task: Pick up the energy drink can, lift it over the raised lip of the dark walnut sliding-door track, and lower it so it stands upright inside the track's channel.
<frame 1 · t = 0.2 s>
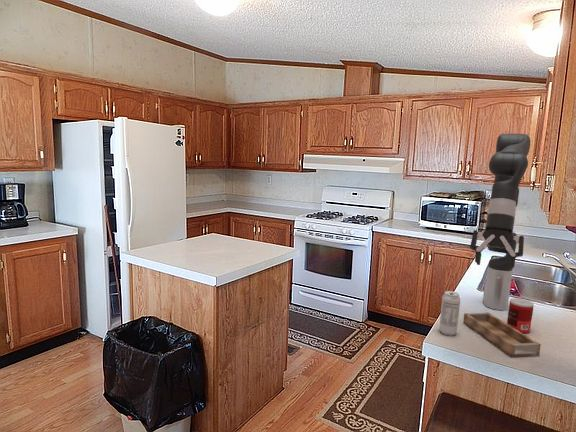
hand: (493, 267, 120), 31 cm above the counter, tool tilted 20°, fingers open, 8 cm apart
energy drink can: (447, 333, 145), on the counter
canned food: (517, 329, 150), on the counter
door track: (498, 338, 142), on the counter
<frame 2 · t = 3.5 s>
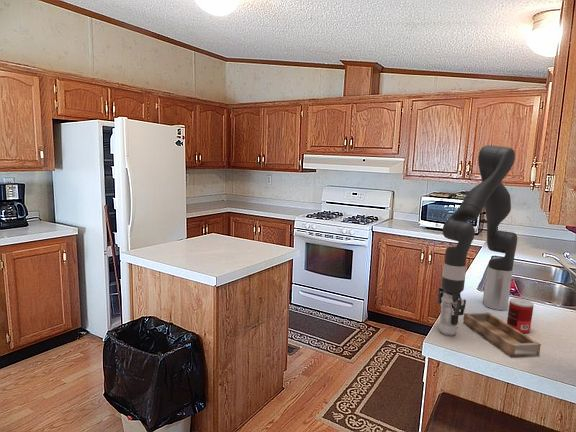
hand: (448, 320, 145), 5 cm above the counter, tool pointing down, fingers closed on energy drink can, 6 cm apart
energy drink can: (447, 333, 145), on the counter, touching gripper
everything else where it was.
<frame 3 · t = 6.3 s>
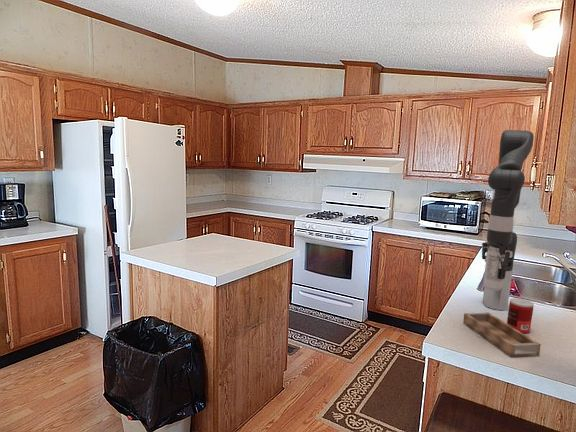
hand: (494, 275, 138), 23 cm above the counter, tool pointing down, fingers closed on energy drink can, 6 cm apart
energy drink can: (492, 288, 139), point 18 cm above the counter, touching gripper
everything else where it was.
when the fingers open (7 cm above the counter, at t = 9.4 s): energy drink can drops 1 cm, resting on door track.
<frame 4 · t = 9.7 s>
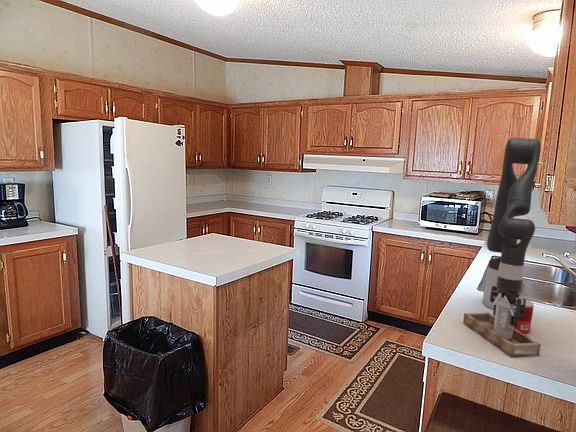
hand: (504, 320, 139), 8 cm above the counter, tool pointing down, fingers open, 8 cm apart
energy drink can: (501, 338, 140), point 1 cm above the counter, touching door track
everything else where it was.
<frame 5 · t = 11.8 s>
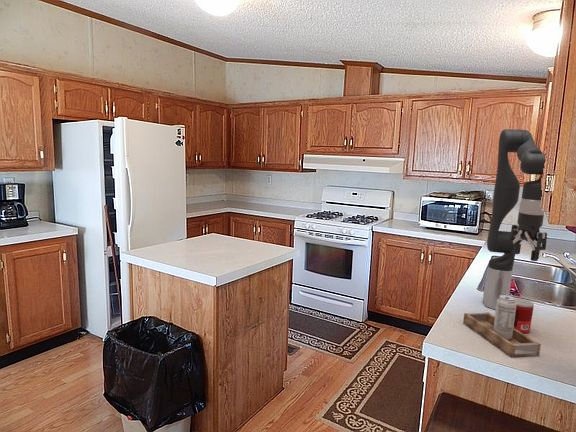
hand: (524, 257, 140), 29 cm above the counter, tool pointing down, fingers open, 8 cm apart
nothing on the counter moved.
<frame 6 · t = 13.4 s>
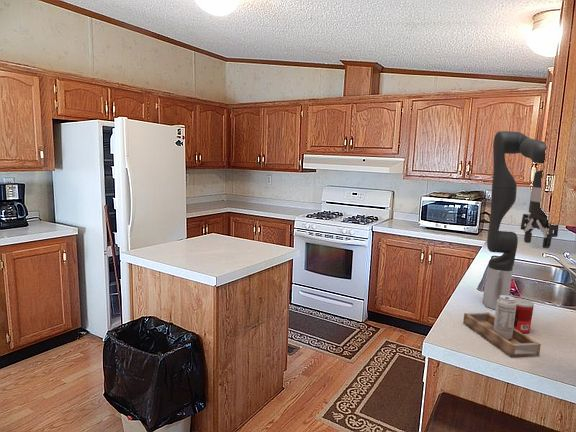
hand: (536, 245, 143), 33 cm above the counter, tool pointing down, fingers open, 8 cm apart
nothing on the counter moved.
at the end: energy drink can inside the target area on the door track (1.9 cm from its centre), point 0.8 cm above the door track's base; energy drink can tilted 0°; the gripper is holding nothing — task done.
